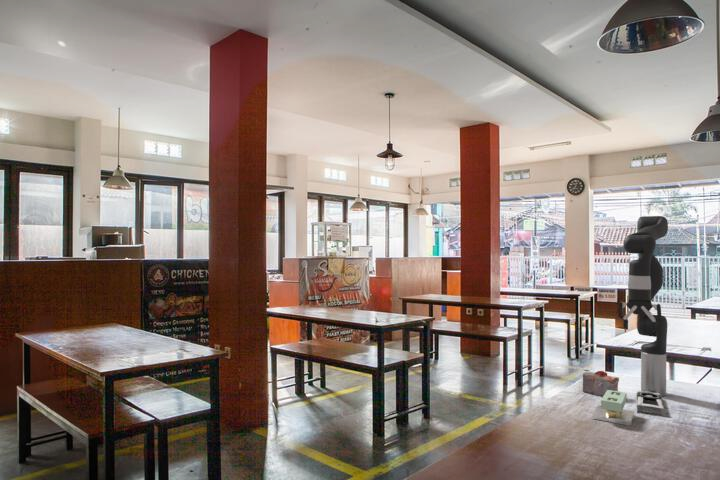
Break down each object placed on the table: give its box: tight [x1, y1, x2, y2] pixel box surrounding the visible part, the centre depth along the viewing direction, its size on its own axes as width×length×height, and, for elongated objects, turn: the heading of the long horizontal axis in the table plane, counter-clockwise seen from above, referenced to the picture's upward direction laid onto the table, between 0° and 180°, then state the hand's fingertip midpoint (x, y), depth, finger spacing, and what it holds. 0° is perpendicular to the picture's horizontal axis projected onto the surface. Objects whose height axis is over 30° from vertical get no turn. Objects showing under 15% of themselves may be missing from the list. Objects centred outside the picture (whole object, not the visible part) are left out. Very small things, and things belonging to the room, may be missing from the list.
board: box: [600, 390, 627, 412], centre depth 179 cm, size 16×6×3 cm, turn 146°
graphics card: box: [635, 390, 669, 418], centre depth 192 cm, size 10×3×25 cm
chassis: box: [592, 393, 636, 426], centre depth 178 cm, size 13×12×8 cm
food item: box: [582, 370, 620, 397], centre depth 207 cm, size 14×8×10 cm, turn 42°
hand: (639, 330), depth 187 cm, fingers open, 8 cm apart
